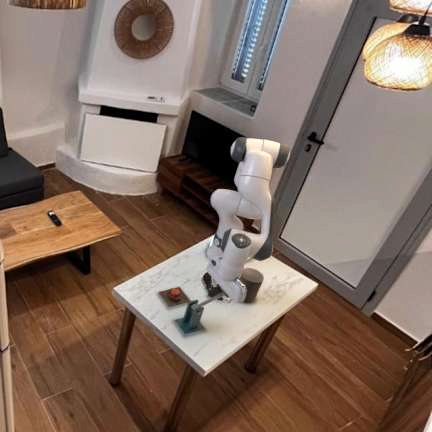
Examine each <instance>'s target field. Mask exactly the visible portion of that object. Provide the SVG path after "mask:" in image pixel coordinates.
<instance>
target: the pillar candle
mask: <svg viewBox="0 0 432 432" xmlns="http://www.w3.org/2000/svg"><path fill="white" fill-rule="evenodd" d="M239 279H240V280H241V282H242V283H243V284H244V285H245V287H246V289H247V292H246V297H245V300H244V301H243V302H242V303H243V304H252V303H254V301H255V300H256V297H257V296H258V293H259V291H260V289H261V287H262V284H263V282H264V280H265V276H264V274H263V272H260V271H259V270H258V269H255V268H253V267H244V269H243V272H242V274H241V277H240V278H239Z"/></svg>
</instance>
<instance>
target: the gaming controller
mask: <svg viewBox="0 0 432 432" xmlns="http://www.w3.org/2000/svg"><path fill="white" fill-rule="evenodd" d="M211 284H212V283H210V284H208V285H207V286H206V287H207V292H208V297H210V298H212V297H214V296H216V295H218V294H220V292H219V291H220V288H221V287H220V286H219V284H217V286H216V287H213V286H212V285H211ZM216 301H221V302H222V301H224V298H223V296H222V297H220V298H218V299H216Z"/></svg>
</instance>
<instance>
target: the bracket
mask: <svg viewBox="0 0 432 432" xmlns="http://www.w3.org/2000/svg"><path fill="white" fill-rule="evenodd" d="M195 303H197V304H199V299H193V300H190V301H189V302H187V304H186V308H185V311H184V315H183V317H181V318H177V319H174V321H175V323H176V324H177V326H178V327H179V329H180V330H181V331H182V333H183V334H184V335H188V334H192V333H196V332H199V331H202V330H203V331H204V330H205V329H206V328H205V327H204V326H203V323H201V319H202V316H203V313H204V310H205V307H204V306H202V307H199V308H195V309H194V310H193V311H192V309H191V305H193V304H195Z"/></svg>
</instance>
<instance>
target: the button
mask: <svg viewBox="0 0 432 432" xmlns="http://www.w3.org/2000/svg"><path fill="white" fill-rule="evenodd" d="M171 289H172V288H171ZM179 293H180V291H179V290H178V289H172V291H171V295H172V296H174V297H177V296H179Z"/></svg>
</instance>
